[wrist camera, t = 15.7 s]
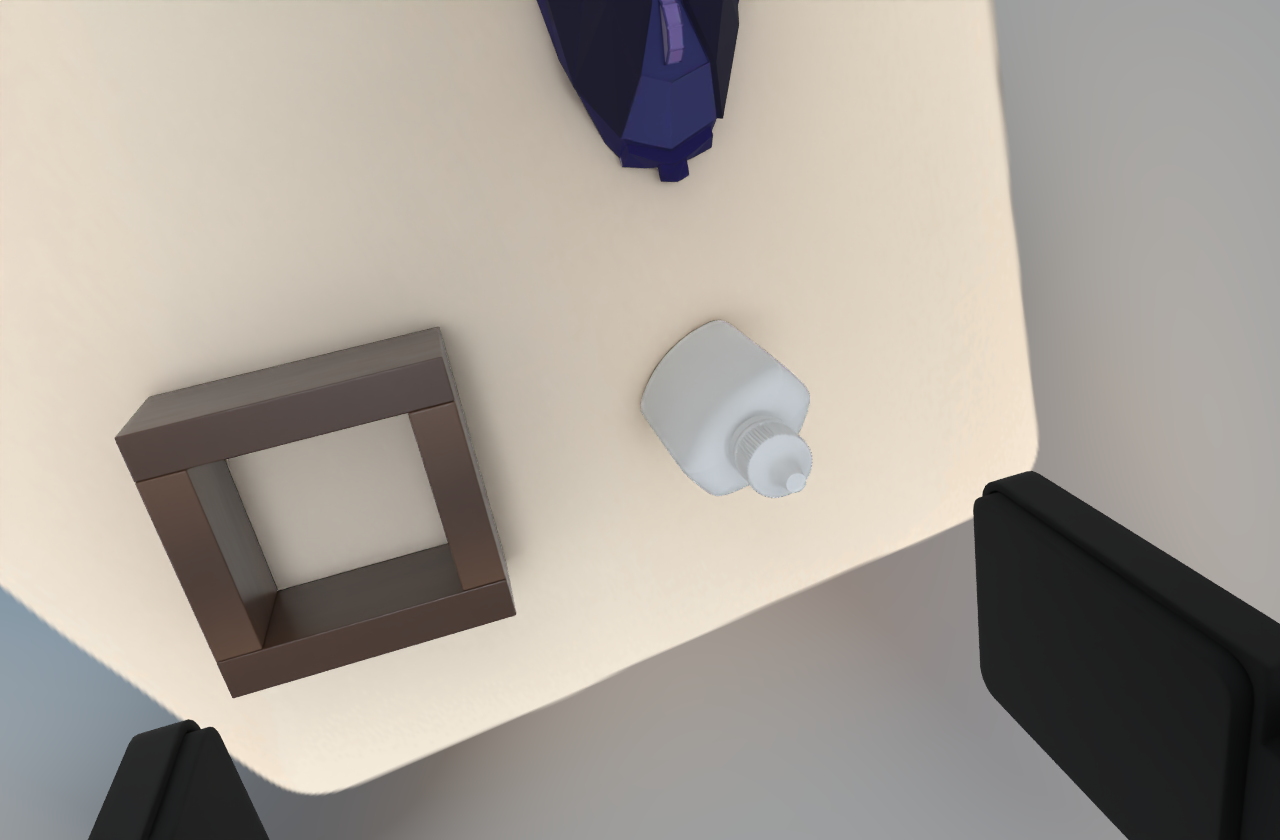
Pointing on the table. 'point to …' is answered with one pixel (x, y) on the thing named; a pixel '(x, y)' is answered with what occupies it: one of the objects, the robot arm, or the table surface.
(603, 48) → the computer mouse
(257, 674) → the holder
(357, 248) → the table surface
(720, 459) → the eye dropper bottle
